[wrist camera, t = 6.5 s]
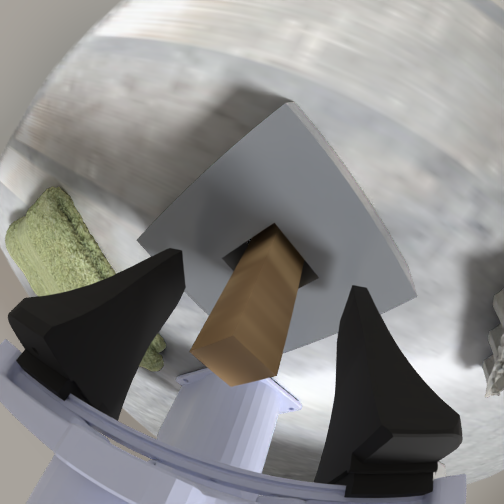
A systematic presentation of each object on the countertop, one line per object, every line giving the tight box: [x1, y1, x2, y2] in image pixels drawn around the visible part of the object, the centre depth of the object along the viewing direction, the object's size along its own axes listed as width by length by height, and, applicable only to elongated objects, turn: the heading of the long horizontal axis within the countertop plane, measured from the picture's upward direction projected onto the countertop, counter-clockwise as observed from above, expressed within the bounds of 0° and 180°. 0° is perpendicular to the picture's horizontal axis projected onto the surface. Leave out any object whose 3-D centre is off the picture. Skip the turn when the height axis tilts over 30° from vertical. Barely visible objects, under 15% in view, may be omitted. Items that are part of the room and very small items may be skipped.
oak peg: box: [190, 223, 304, 387], centre depth 12 cm, size 2×2×8 cm
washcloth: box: [5, 187, 166, 372], centre depth 22 cm, size 13×18×3 cm
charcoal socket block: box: [137, 102, 417, 353], centre depth 14 cm, size 10×10×2 cm
